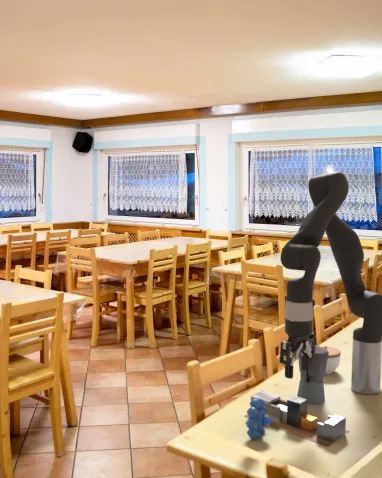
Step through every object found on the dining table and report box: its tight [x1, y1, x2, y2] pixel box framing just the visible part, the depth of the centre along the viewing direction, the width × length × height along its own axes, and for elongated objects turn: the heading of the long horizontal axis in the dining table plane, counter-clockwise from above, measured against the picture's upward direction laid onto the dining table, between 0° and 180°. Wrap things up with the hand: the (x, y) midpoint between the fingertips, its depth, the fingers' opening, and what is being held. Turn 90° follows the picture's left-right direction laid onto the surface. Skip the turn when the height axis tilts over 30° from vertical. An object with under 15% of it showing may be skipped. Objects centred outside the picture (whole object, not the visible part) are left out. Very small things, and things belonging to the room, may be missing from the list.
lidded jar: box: [319, 345, 341, 375], centre depth 200 cm, size 11×11×9 cm
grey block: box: [271, 395, 318, 431], centre depth 155 cm, size 4×18×7 cm, turn 47°
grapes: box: [245, 398, 272, 440], centre depth 145 cm, size 12×7×12 cm, turn 156°
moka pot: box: [296, 340, 329, 406], centre depth 169 cm, size 10×15×20 cm, turn 161°
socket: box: [316, 413, 347, 444], centre depth 145 cm, size 7×5×5 cm
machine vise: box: [243, 389, 350, 448], centre depth 153 cm, size 12×27×7 cm, turn 47°
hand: (297, 373), depth 151 cm, fingers open, 8 cm apart
